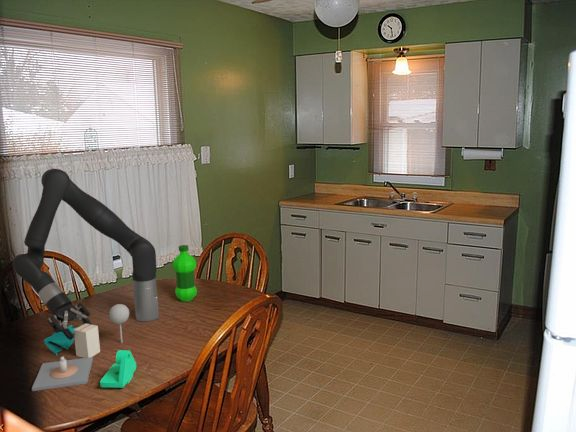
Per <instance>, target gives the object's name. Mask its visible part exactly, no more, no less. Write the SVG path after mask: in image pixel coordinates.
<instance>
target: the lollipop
mask: <svg viewBox="0 0 576 432" xmlns="http://www.w3.org/2000/svg"><path fill="white" fill-rule="evenodd" d="M108 317H109V319H110V321H111V322H113V324H117V325H119V336H120V344H123V342H124V341H123V333H122V332H123V331H122V329H123V328H122V324H124V323H125V322H126V321H127V320H128V319H129V317H130V309H129V308H128V307H127V306H126V304H122V303H117V304H113V306H112V307H111V308H110V310H109V312H108Z"/></svg>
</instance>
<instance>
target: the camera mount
mask: <svg viewBox="0 0 576 432" xmlns="http://www.w3.org/2000/svg"><path fill="white" fill-rule="evenodd" d="M136 369H137V362H136V360H135V357H134V356H133V354H132V351H131V350H126V349H125V350H124V349H123V350H122V349H120V350H119V349H118V350H117V352H116V355H115V363H113V364H111V366H110V367H109V368H108V371H106V373H105V374H104V376H103V377H102V378H101V379H100V381H99V384H100V385H99V386H100V387H101V388H114V389H115V388H116V389H118V388H121V389H122V388H125V386H126V385H128V384H129V383H130V382H131V380H132V379H133V377H134V372H135V371H136Z"/></svg>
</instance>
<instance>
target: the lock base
mask: <svg viewBox="0 0 576 432" xmlns="http://www.w3.org/2000/svg"><path fill="white" fill-rule="evenodd" d="M93 358H94V356H93V357H90V358H83V357H81V358H75V359H68V360H67V358H65V356H60V358H59V360H58V361H51V362H44V363H43V362H42V365H41V366H40V368H39V371H38V373H37V374H36V375H37V376H36V378H35V379H34V382H33V384H32V387H31V391H32V392H36V391H43V390H50V389H57V388H59V389H60V388H66V387H73V386H81V385H86V384H88V383H89V382H88V381H89V377H90V373H91V369H92V365H93V361H94V359H93Z"/></svg>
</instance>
